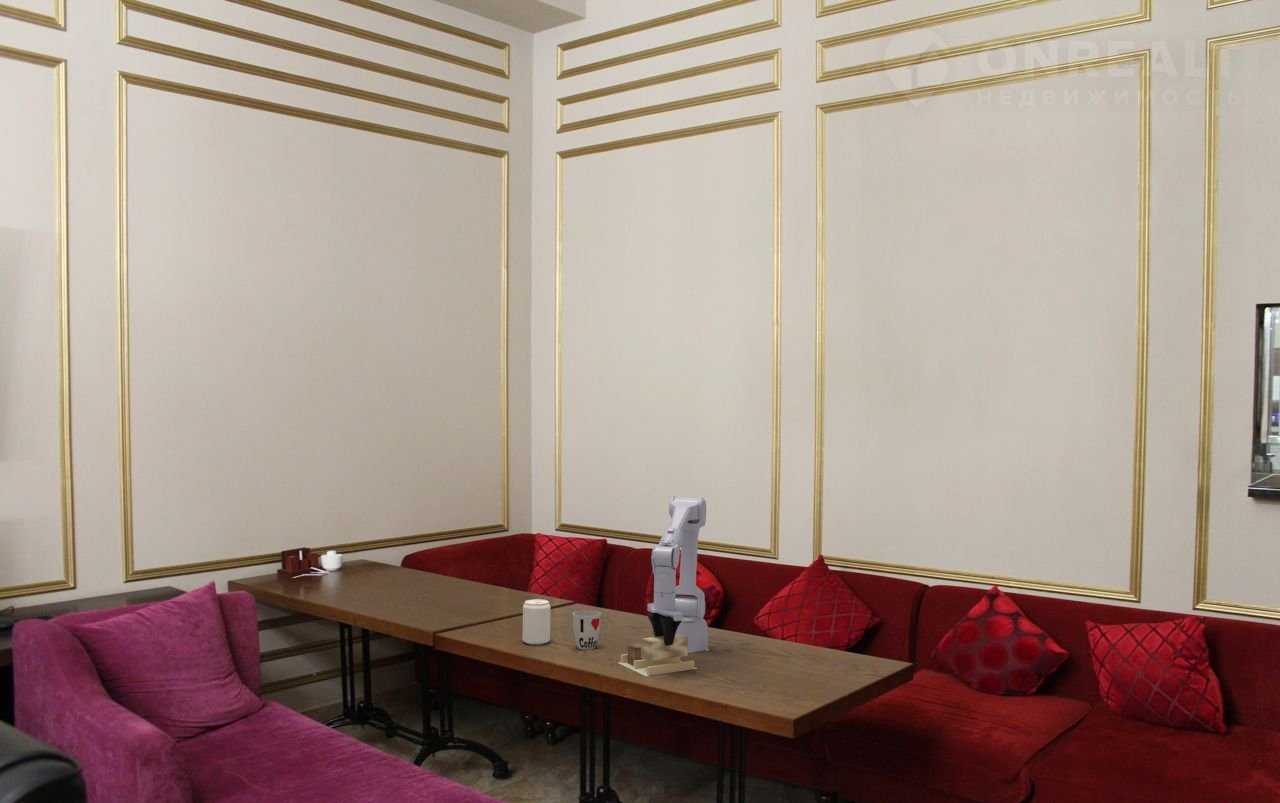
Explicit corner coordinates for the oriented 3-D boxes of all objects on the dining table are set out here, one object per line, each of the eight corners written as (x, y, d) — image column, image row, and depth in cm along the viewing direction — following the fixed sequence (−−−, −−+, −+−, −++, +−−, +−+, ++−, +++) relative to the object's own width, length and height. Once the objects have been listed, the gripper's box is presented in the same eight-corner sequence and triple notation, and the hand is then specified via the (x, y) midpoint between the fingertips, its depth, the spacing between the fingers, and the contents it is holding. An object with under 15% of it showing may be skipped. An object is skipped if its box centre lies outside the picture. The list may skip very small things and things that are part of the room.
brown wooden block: (665, 658, 270) (665, 640, 270) (673, 661, 266) (673, 643, 266) (627, 663, 264) (627, 644, 264) (634, 666, 260) (635, 648, 260)
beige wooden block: (679, 652, 264) (679, 633, 264) (687, 655, 260) (687, 636, 260) (641, 657, 258) (641, 638, 258) (648, 661, 254) (648, 641, 254)
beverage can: (517, 643, 287) (517, 602, 287) (532, 637, 294) (533, 598, 294) (540, 646, 283) (540, 605, 284) (555, 641, 291) (555, 600, 291)
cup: (575, 652, 278) (575, 616, 278) (569, 645, 285) (570, 611, 286) (603, 650, 280) (603, 615, 280) (596, 644, 288) (597, 609, 288)
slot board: (667, 657, 272) (667, 648, 272) (697, 670, 259) (697, 660, 259) (617, 664, 264) (617, 655, 264) (645, 678, 251) (645, 668, 251)
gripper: (638, 588, 263) (637, 638, 263) (666, 597, 251) (665, 650, 251) (660, 586, 267) (659, 636, 267) (689, 595, 254) (688, 647, 254)
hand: (664, 643), depth 259 cm, fingers closed on beige wooden block, 4 cm apart
